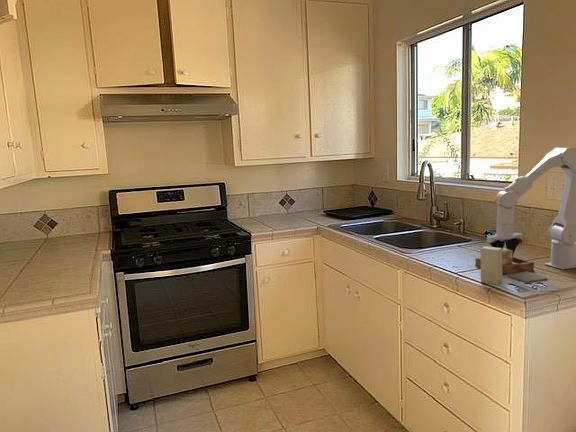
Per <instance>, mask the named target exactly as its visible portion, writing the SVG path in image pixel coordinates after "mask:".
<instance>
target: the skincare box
mask: <svg viewBox="0 0 576 432" xmlns="http://www.w3.org/2000/svg"><path fill="white" fill-rule="evenodd" d="M480 257H481V267H480V282H481V283H484V284H485V283H486V284H489V285H490V284H493V285H497V286H498V285H500V284H501V282H502V283H503V275H502V248H497V247H492V246H487V245H486V246H483V247H481V248H480Z"/></svg>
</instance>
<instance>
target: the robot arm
mask: <svg viewBox="0 0 576 432" xmlns="http://www.w3.org/2000/svg"><path fill="white" fill-rule="evenodd" d="M552 168H554V169H555V168H560V169H561V170H563V172H564V173H565V174H566V175H565V181H564V186H563V190H562V196H561V200H560V204H559V209H558V213H557V216H556V217H555V218H554V219H553V220H552V224H551V225H550V226H549V228H548V236H549V237H550V238H551V248H550V262H544V265H545V266H550V267H552V268H555V269H559V270H568V269H574V268H576V147H572V146H571V147H562V146H557V147H554V148H552V150H551V151H549V152H548V153H546V154H545V156H544V157H543V158H542V159H541V160H540V161H539V162H538V163H537V164H536V165H535V166H534V167H533V168H532V169H531V170H530V171H529V172H528V173H527V174H525V176H524V175H522V176H521V175H520V176H517V177H515V178H514V179H513V181H512V183H511V184H509V185H508V186H505V187H504V189H503V190H502V191H499V192H498V193H496V196H495V197H494V198H493V199H494V203H495V204H496V206H497V207H496V228H495V230H496V231H495V232H496V233H494V234H492V235H489V236H486V242H487V243H489V244H490V247H497V248H502V250H503V248H504V247H505V248H506V249H510V250H513V255H512V257H513V256H514V254H515V251H516V249H517V248H518V245H519V244H520V240H523V233H521V232H514V224H515V223H514V222H515V207H516V206H517V204H518V202H519V201H518V200H519V199H520V198H521V197H523V196H524V195H525V194H527V192H528V191H530V189H532V188H533V183H534V182H535V181H537V179H539V178H540V177H541V176H543V175H544V174H546V173H547V172H548V171H549V170H550V169H552ZM503 241H504V242H503Z"/></svg>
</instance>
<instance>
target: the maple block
mask: <svg viewBox="0 0 576 432" xmlns="http://www.w3.org/2000/svg"><path fill="white" fill-rule="evenodd" d="M512 255H513V256H514V254H513V250H510V249H506V247H505V248H504V247H503V250H502V264H503V265H505V264H511V263H512Z"/></svg>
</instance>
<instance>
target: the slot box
mask: <svg viewBox="0 0 576 432" xmlns="http://www.w3.org/2000/svg"><path fill="white" fill-rule="evenodd" d="M474 263H475V266H476V267H478V268H481V256H480V257H475V262H474ZM534 263H535V262H533V261H531V260H527V259H523V258H520V257H516V256H514V255H513V257H512V263H511V264H505V265H503V264H502V276H506V274H512V273H519V272H526V271H527V272H532V271H534V268H535V267H534V265H535V264H534Z"/></svg>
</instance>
